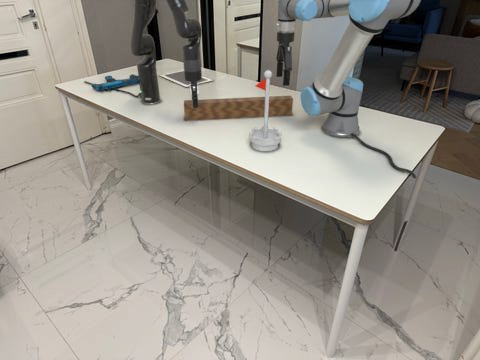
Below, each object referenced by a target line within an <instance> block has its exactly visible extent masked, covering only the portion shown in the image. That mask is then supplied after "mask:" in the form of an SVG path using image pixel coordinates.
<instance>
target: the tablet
mask: <svg viewBox="0 0 480 360" xmlns="http://www.w3.org/2000/svg"><path fill="white" fill-rule="evenodd" d="M158 76H159V77H161V78H163V79H165V80H167V81H170V82H173V83H175V84H177V85H179V86H182V87H184V88H190V83H191V82H190V81H186V80H185V74H184V69H182V70H181V69H180V70H176V71H172V72H167V73H163V74H158ZM210 82H214V80H213V79H211V78H208V77H206V76H203V75H202V79H201V80H200V81H197V83H198V85H202V84H205V83H206V84H207V83H210Z"/></svg>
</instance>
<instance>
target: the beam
mask: <svg viewBox="0 0 480 360" xmlns="http://www.w3.org/2000/svg"><path fill="white" fill-rule="evenodd" d="M293 106H294V97H293V96H292V95H273V96H270V95H269V110H268V117H282V116H283V117H284V116H293ZM183 110H184V120H185V121H187V122H189V121H207V120H225V119H227V120H229V119H246V118H263V117H264V111H265V96H251V97H250V96H249V97H247V96H246V97H231V98H230V97H229V98H228V97H227V98H226V97H225V98H207V99H205V98H204V99H198V108H194V107H193V100H192V99H186V100H185V99H183Z"/></svg>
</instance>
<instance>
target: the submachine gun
mask: <svg viewBox="0 0 480 360" xmlns="http://www.w3.org/2000/svg"><path fill="white" fill-rule="evenodd" d="M104 80H106V82H101V83H92V84H90V86H91V88H92V89H94V90H95V91H97V92H99V91H103V90H105V91H107V90H108V91H111V90H112V89H111V88H113V89H116V88H120V87H123V86H128V85H133V84H139V83H140V81H139V75H136V74H134V73H132V74H130V75H129V78H123V79H116V78H115V77H113V76H112V75H106V76H104Z"/></svg>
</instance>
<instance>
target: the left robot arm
mask: <svg viewBox="0 0 480 360" xmlns="http://www.w3.org/2000/svg"><path fill="white" fill-rule="evenodd" d="M166 3H167V5H168V7H169V10H170V11H171V13H172V18H173V21H174V27H175V30H176V32H177V34H178V35H179V37H180V38H182V39H187V41H186V43H183V46H182V56H183V70H184V74H185V80H186V81H190V82H191V83H190V87H189V89H190V95H191V100H193V107H194V108H198V100H199V98H198V96H199V88H200V87H199V86H200V85H199V84H198V83H197V81H200V80H201V79H202V76H203V75H202V63H201V56H200V45H201V39H202V33H203V32H202V30H203V29H202V25H201V22H200V21H199V20H198V19H197V18H196V17H195V18H194V17H191V18H187V17H186V14H187V13H188V12H189V5H188V3H187V1H186V0H166ZM156 7H157V0H133V13H132V14H133V15H132V25H131V29H130V30H131V31H130V36H129V49H130V52H131V54H132V55H133V56H135V57H142V56H143V58H142V59H141V60H140V61H138V62H137V63H136V69H137V74H138V75H137V76H139V81H140V82H138V86H139V91H140V92H138V94H137V95H135V94H134V93H132V92H129V91H126V90H122V89H118V88H111V89H110V90H113V91H116V92H121V93H125V94H129V95H131V96H133V98H140V99H141V102H142V104H144V105H156V104H159V103H160V102H162V101H161V94H160V93H161V92H160V86H159V79H158V72H157V55H156V45H155V41H154V38H153V36H152V35H151V34H149V33H146V34H145V33H144V32H145V30H146V29H147V27H148V25H149V24H150V22H151V21H152V19H153V18H154V16H155V14H156V9H157V8H156ZM84 83H85V84H89V85H91V84H93V83H91V82H89V81H87V80H84Z"/></svg>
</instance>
